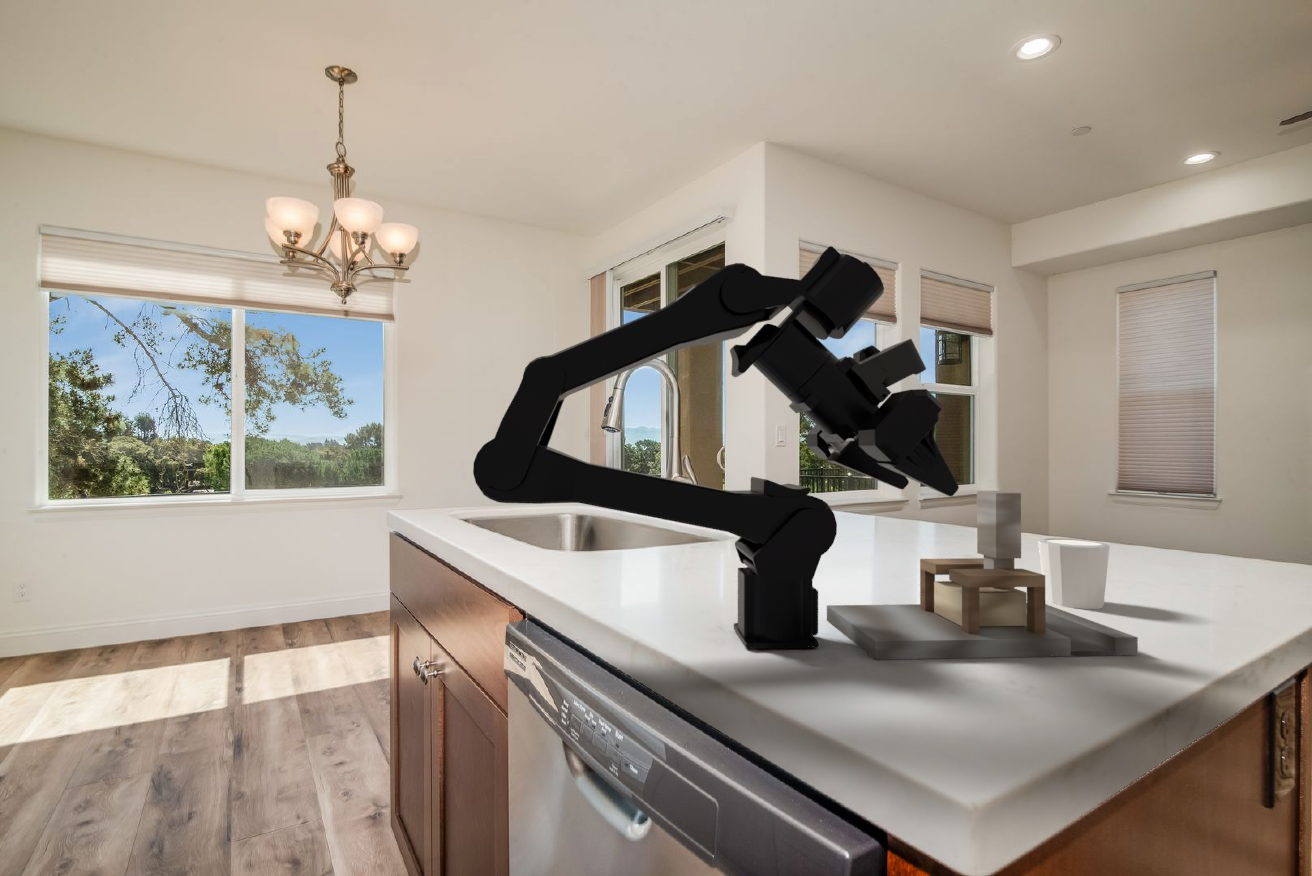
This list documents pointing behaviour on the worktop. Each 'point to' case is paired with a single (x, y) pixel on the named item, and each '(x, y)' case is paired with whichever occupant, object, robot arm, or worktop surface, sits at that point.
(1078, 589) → the white cup
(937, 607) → the stacked block pedestal
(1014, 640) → the tunnel track
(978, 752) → the worktop surface
